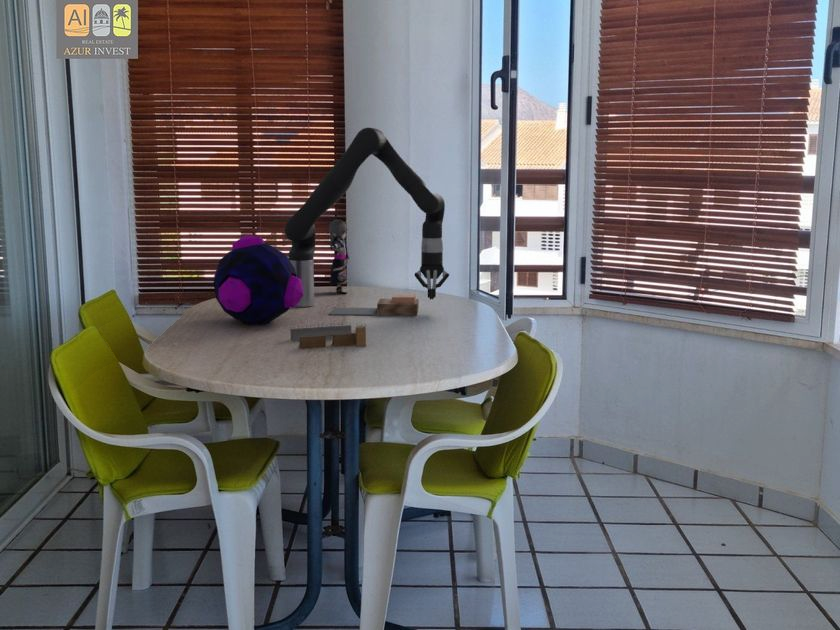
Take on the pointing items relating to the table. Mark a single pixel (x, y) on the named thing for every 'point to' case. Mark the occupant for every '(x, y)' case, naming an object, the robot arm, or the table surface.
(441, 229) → the robot arm
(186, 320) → the table surface
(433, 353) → the table surface
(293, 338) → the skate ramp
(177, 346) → the table surface
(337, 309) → the mat
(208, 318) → the table surface
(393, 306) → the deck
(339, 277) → the figurine
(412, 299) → the salmon pink rectangular block
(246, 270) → the sculpture
